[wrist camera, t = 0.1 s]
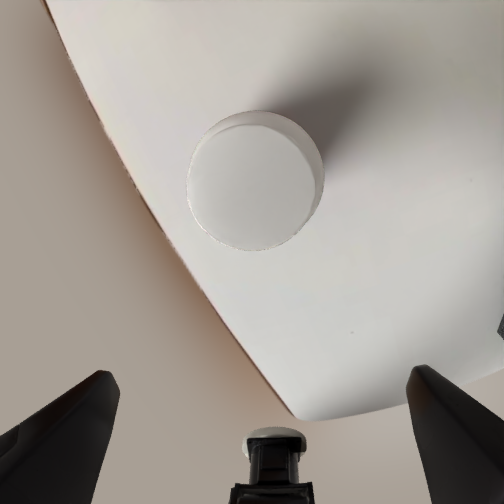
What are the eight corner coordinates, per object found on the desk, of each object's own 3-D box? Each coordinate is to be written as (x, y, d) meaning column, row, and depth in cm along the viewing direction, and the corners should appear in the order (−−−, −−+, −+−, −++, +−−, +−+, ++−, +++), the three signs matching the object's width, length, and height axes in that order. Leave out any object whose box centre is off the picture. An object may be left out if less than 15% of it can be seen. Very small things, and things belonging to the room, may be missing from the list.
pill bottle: (323, 154, 17) (377, 174, 8) (273, 222, 19) (276, 303, 10) (248, 103, 17) (226, 68, 8) (200, 175, 18) (137, 216, 9)
